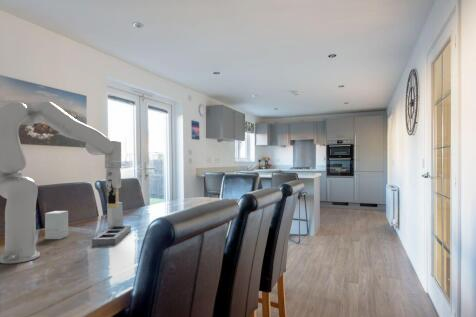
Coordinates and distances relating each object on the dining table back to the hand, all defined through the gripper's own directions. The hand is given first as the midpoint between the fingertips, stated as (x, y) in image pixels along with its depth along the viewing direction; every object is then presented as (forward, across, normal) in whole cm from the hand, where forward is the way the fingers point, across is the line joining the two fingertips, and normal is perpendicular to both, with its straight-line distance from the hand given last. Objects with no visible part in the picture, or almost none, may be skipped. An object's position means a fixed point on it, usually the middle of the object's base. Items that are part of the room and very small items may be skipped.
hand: (113, 202), depth 147 cm
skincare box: (+18, +20, +5) cm, 27 cm away
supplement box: (+17, +4, +28) cm, 33 cm away
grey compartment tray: (+17, 0, 0) cm, 17 cm away
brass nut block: (+2, 0, 0) cm, 2 cm away
